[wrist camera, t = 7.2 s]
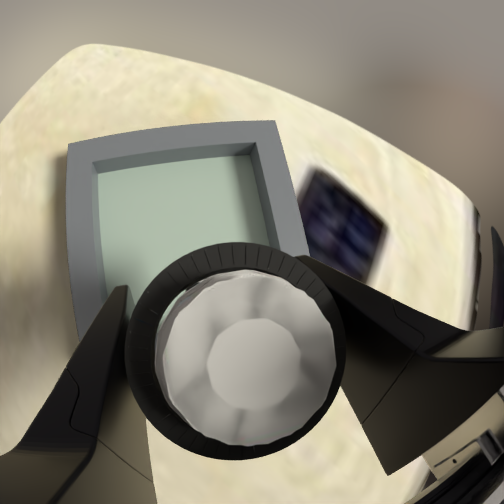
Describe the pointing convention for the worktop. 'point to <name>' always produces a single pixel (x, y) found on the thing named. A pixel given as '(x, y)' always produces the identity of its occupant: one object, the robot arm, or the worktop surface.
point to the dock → (171, 203)
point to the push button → (235, 351)
